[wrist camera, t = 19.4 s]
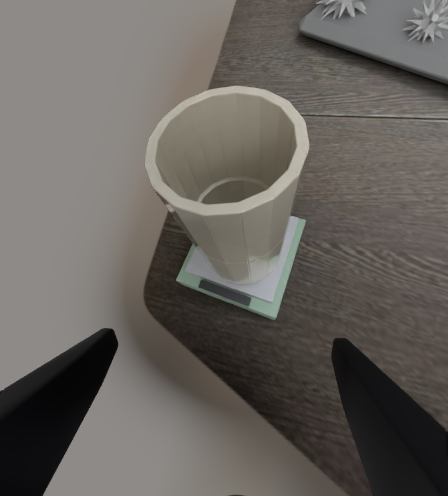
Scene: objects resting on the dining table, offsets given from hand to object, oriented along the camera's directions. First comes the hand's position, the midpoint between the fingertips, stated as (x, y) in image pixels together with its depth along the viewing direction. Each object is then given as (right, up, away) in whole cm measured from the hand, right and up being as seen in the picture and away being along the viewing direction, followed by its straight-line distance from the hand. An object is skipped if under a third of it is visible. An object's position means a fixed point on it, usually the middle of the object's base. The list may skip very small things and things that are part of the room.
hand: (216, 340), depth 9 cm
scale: (+2, +3, +15) cm, 16 cm away
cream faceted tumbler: (+2, +4, +12) cm, 13 cm away
